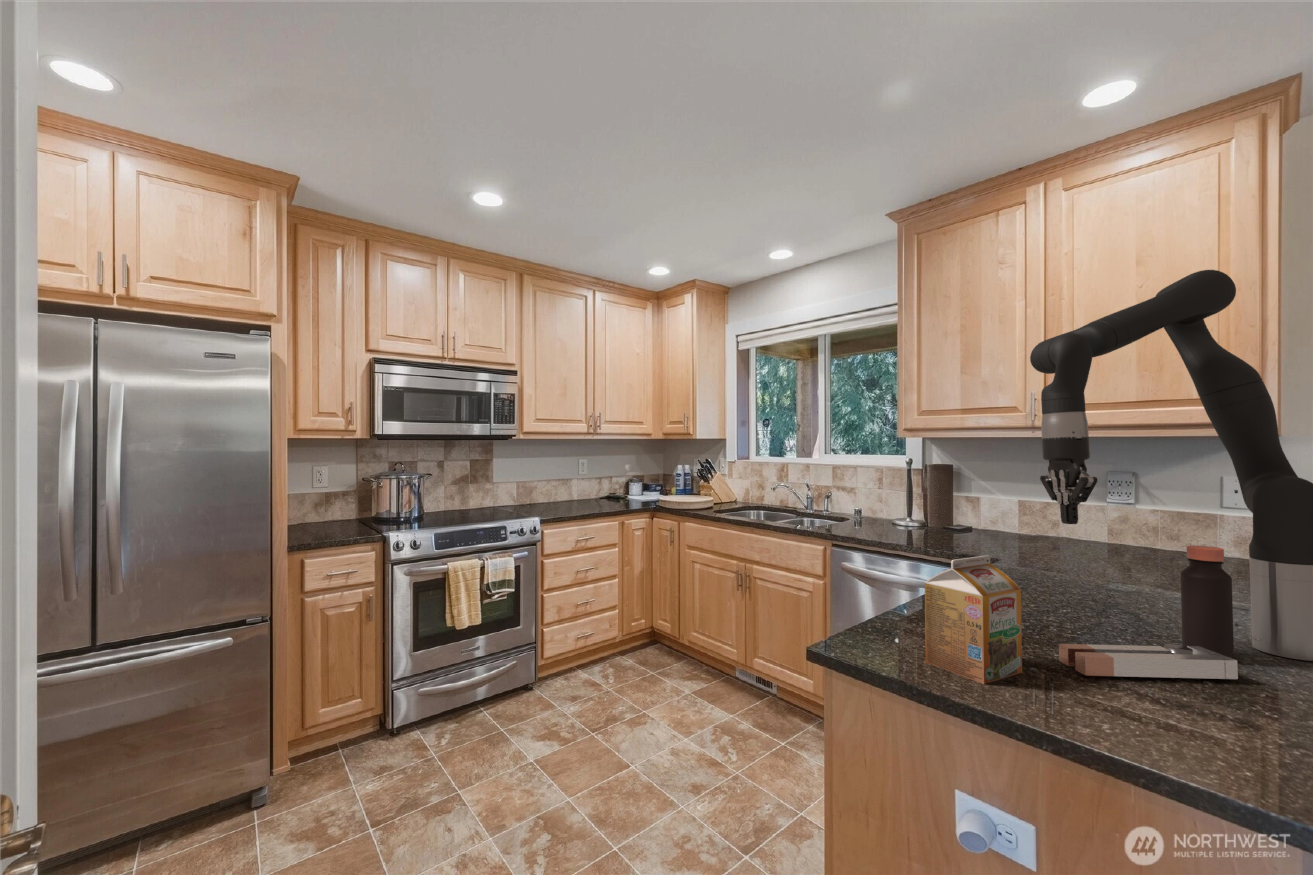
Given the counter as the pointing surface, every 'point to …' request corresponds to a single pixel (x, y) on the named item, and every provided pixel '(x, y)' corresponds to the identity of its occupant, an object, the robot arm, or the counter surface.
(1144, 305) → the robot arm
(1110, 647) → the leg
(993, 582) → the milk carton
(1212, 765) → the counter surface
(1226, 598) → the bottle
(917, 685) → the counter surface
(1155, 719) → the counter surface
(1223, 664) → the tongs fixed leg
